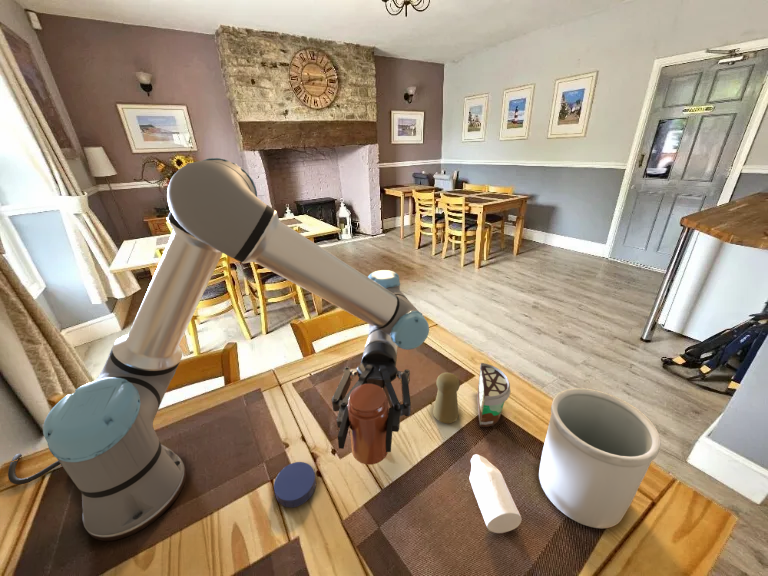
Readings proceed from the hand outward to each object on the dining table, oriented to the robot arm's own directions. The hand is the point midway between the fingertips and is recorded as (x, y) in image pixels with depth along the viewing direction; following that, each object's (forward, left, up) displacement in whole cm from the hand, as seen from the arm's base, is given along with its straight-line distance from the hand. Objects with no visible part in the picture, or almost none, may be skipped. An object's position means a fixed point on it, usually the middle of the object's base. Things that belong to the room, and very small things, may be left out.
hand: (364, 444), depth 49 cm
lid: (-14, +3, -15) cm, 21 cm away
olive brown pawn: (+15, +23, -17) cm, 32 cm away
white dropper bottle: (+21, +4, -17) cm, 27 cm away
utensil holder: (+38, +7, -17) cm, 42 cm away
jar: (0, +5, -7) cm, 9 cm away
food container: (+26, +24, -17) cm, 39 cm away
